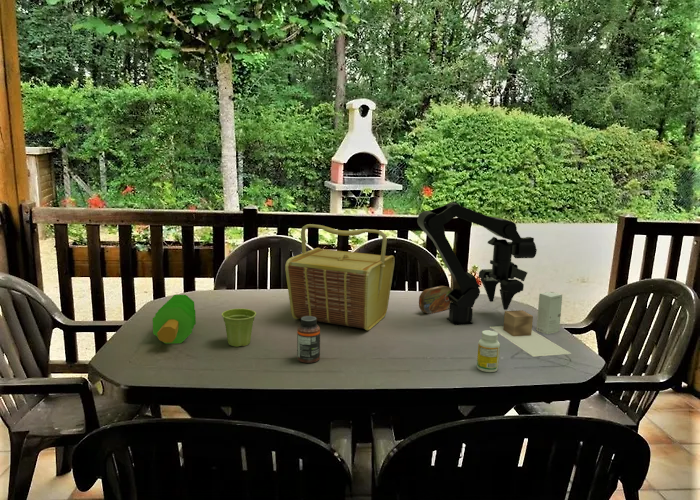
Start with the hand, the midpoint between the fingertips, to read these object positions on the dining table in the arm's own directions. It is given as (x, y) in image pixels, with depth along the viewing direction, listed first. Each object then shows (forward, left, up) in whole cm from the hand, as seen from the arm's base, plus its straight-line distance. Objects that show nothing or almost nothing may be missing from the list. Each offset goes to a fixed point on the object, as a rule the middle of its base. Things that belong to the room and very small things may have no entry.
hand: (498, 305), depth 180 cm
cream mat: (0, -18, -5) cm, 19 cm away
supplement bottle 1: (-66, -21, -5) cm, 70 cm away
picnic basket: (-50, +11, -6) cm, 51 cm away
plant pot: (-83, -6, -5) cm, 83 cm away
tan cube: (0, -12, -5) cm, 13 cm away
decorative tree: (-100, +5, -5) cm, 100 cm away
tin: (-16, +14, -6) cm, 22 cm away
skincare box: (+11, -12, -5) cm, 17 cm away
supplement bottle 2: (-22, -35, -5) cm, 42 cm away
